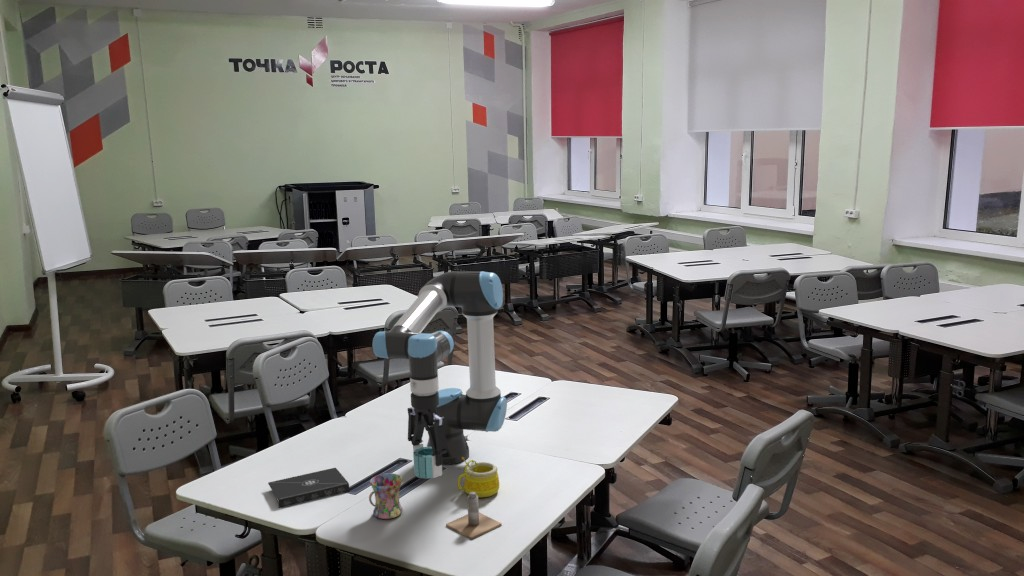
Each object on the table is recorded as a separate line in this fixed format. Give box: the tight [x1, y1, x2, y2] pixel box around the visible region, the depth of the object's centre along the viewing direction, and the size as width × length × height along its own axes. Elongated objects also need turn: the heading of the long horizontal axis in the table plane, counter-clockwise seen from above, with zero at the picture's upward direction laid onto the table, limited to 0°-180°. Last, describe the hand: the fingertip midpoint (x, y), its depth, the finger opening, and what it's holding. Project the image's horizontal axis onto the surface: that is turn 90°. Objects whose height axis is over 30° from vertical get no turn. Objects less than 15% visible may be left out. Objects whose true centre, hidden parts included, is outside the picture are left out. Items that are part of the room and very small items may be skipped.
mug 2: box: [457, 457, 500, 499], centre depth 234 cm, size 13×11×12 cm
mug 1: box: [368, 472, 404, 520], centre depth 220 cm, size 12×9×11 cm
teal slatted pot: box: [412, 446, 434, 479], centre depth 209 cm, size 8×8×6 cm
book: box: [267, 467, 351, 509], centre depth 239 cm, size 22×15×3 cm
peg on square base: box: [445, 492, 503, 541], centre depth 213 cm, size 11×11×10 cm
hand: (428, 471), depth 210 cm, fingers closed on teal slatted pot, 7 cm apart
